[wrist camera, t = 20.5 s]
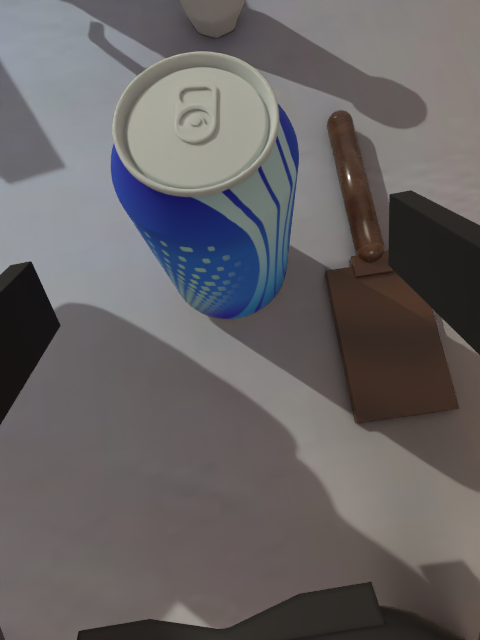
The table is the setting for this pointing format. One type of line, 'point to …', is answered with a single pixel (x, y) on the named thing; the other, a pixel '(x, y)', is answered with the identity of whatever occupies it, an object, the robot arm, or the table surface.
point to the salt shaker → (213, 15)
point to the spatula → (380, 310)
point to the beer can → (209, 178)
